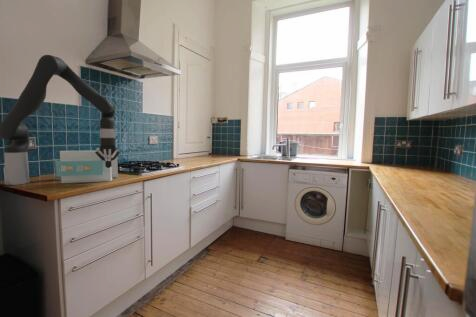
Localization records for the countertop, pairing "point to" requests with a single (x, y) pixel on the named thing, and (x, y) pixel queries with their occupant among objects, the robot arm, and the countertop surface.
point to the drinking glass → (55, 169)
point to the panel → (95, 169)
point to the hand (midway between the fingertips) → (108, 167)
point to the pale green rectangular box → (83, 157)
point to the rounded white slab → (113, 166)
